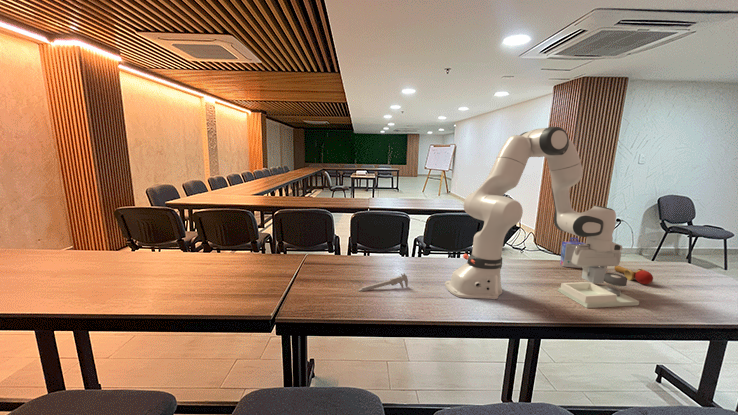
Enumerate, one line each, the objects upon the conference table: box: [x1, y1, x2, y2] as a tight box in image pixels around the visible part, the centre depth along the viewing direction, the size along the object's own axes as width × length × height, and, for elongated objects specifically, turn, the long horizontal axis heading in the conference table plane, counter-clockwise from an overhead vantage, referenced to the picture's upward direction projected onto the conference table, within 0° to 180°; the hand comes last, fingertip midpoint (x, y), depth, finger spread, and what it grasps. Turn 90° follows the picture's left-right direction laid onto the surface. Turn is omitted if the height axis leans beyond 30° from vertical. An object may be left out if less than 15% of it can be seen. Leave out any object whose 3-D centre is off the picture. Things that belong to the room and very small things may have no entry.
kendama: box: [614, 265, 654, 286], centre depth 142 cm, size 8×6×18 cm
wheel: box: [604, 272, 628, 287], centre depth 120 cm, size 7×7×3 cm
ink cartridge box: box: [559, 237, 586, 269], centre depth 155 cm, size 10×6×14 cm, turn 78°
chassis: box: [557, 281, 640, 309], centre depth 120 cm, size 22×14×4 cm, turn 98°
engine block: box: [581, 266, 607, 284], centre depth 132 cm, size 5×6×6 cm
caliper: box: [358, 272, 409, 292], centre depth 123 cm, size 20×1×6 cm, turn 104°
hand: (593, 275), depth 132 cm, fingers closed on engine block, 5 cm apart
